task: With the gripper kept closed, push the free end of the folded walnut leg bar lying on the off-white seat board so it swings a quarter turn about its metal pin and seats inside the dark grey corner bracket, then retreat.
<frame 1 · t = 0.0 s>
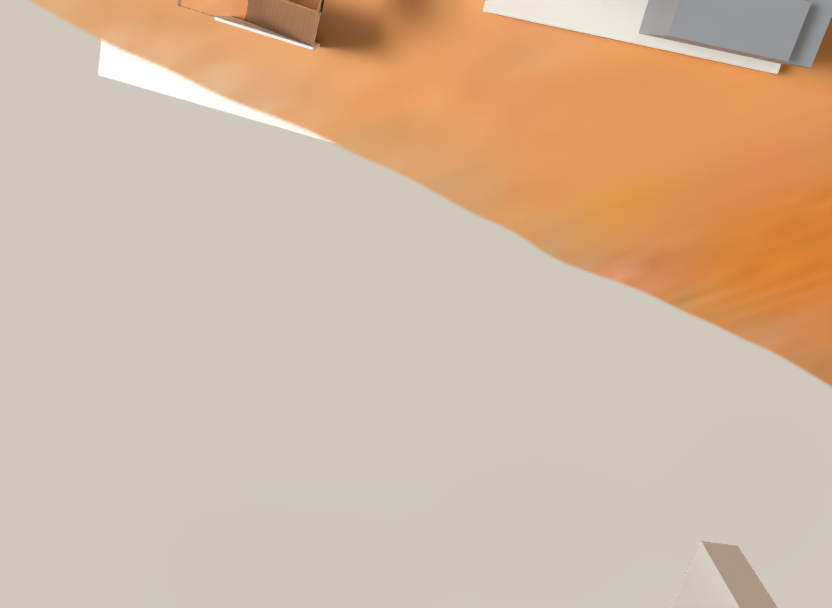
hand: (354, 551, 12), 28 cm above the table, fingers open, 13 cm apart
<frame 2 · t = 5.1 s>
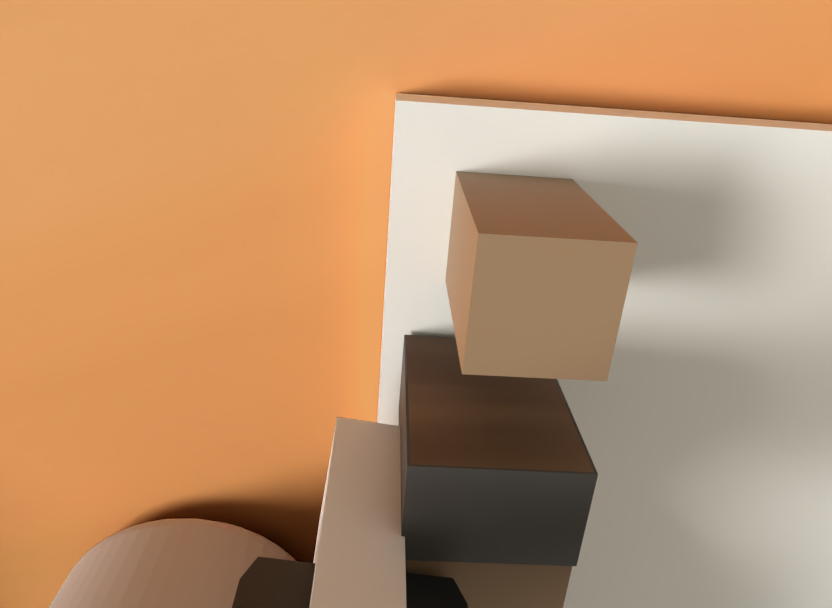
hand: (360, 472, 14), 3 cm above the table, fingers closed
seat board: (652, 513, 19), on the table
coffee cup: (200, 594, 20), on the table
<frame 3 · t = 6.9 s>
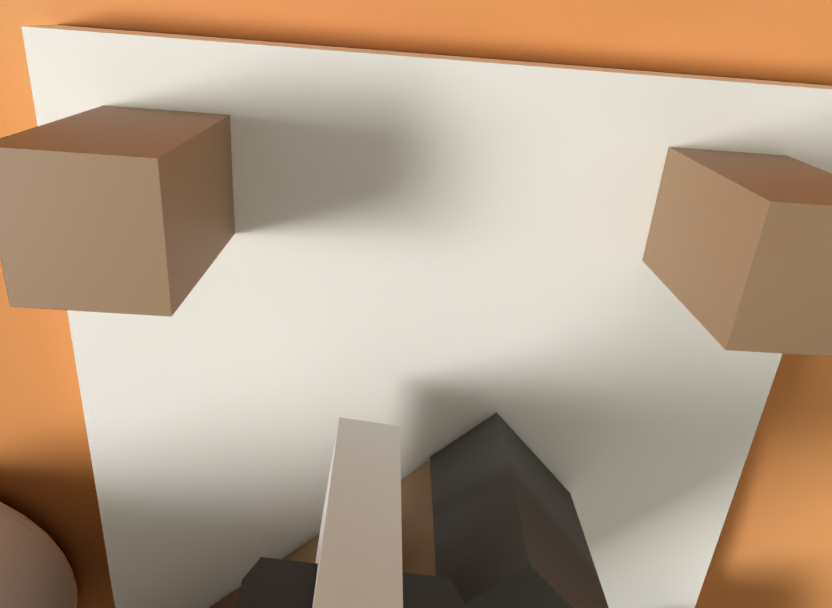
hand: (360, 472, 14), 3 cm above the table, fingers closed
seat board: (415, 485, 18), on the table
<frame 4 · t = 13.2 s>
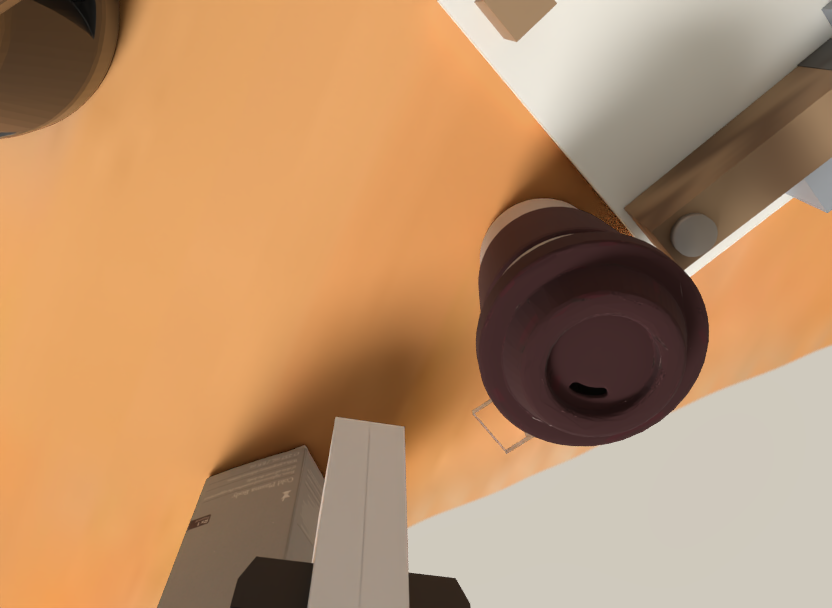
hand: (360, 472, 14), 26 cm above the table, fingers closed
seat board: (678, 52, 36), on the table
skincare box: (274, 493, 48), on the table
leg: (759, 156, 35), point 4 cm above the table, hinge at 90.5°
grey frame: (520, 374, 45), on the table
coffee cup: (537, 252, 41), on the table
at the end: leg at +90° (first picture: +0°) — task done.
